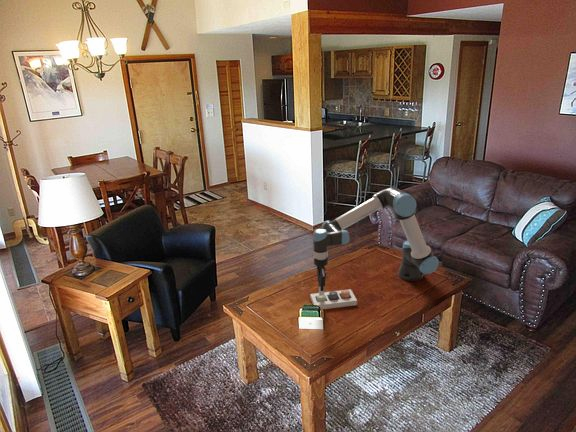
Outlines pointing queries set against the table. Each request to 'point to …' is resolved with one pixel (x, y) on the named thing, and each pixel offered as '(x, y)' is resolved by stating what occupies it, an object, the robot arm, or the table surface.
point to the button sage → (321, 298)
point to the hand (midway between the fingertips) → (321, 294)
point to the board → (334, 303)
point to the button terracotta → (345, 294)
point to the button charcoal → (333, 295)
